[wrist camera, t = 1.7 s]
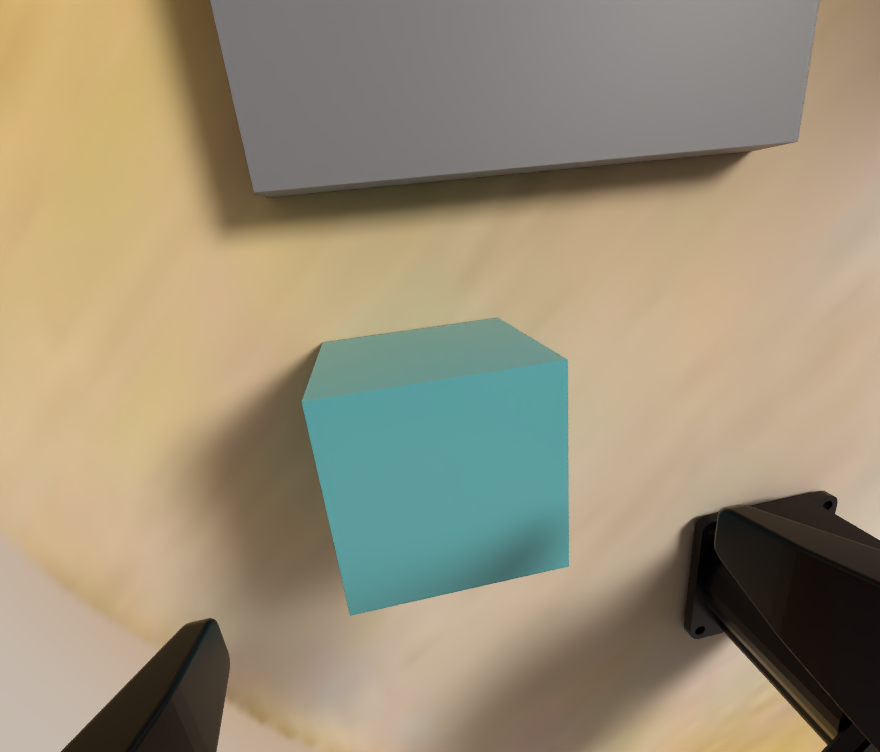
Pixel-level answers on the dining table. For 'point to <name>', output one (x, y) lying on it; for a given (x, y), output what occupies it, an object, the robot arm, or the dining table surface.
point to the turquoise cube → (440, 459)
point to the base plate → (504, 85)
